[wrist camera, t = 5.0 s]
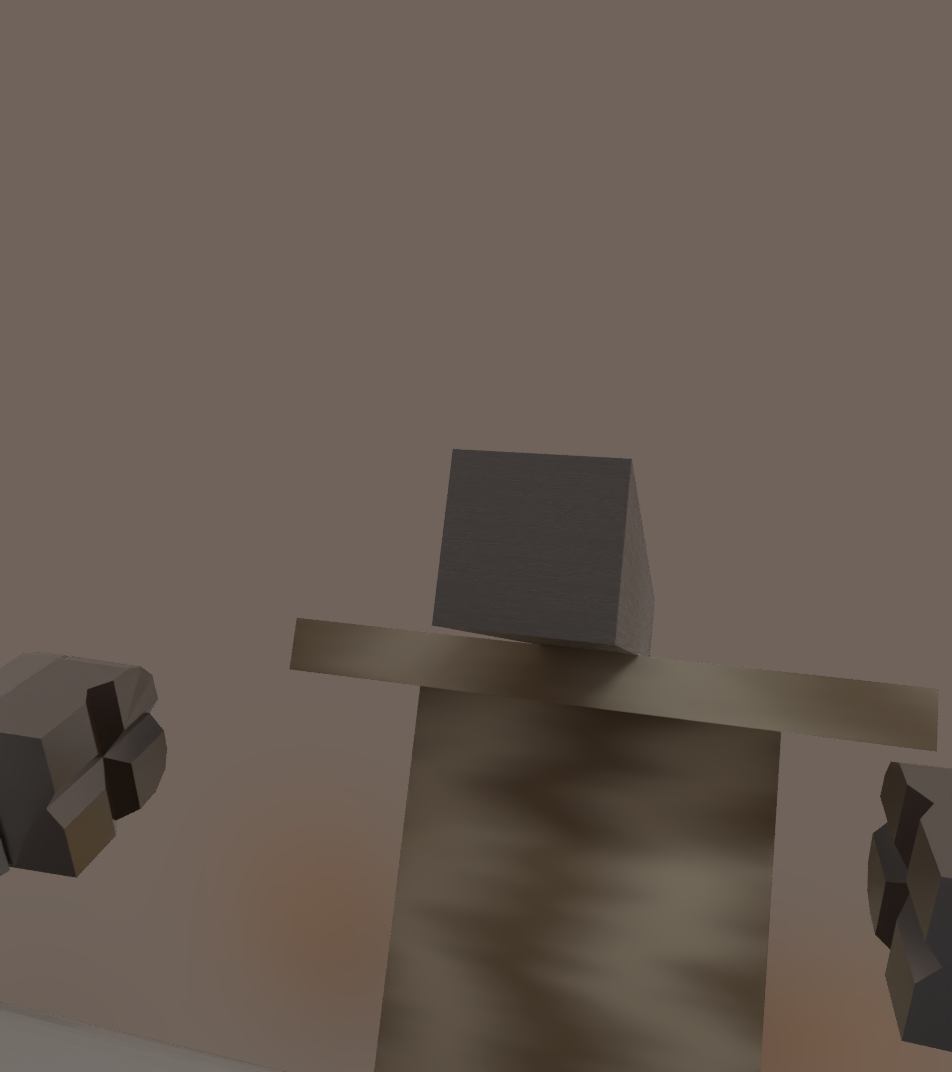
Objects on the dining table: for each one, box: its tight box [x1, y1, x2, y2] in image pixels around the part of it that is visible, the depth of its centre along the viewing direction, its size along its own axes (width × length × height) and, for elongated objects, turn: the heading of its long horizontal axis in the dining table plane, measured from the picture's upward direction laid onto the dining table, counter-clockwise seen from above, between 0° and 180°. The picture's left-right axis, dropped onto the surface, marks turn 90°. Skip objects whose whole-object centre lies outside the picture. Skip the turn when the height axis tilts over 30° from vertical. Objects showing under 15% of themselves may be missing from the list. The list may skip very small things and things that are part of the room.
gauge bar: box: [432, 449, 654, 657], centre depth 23 cm, size 24×2×2 cm, turn 167°
